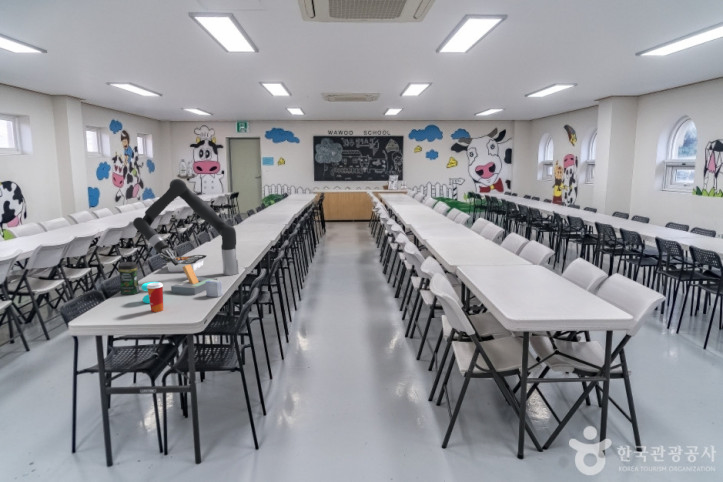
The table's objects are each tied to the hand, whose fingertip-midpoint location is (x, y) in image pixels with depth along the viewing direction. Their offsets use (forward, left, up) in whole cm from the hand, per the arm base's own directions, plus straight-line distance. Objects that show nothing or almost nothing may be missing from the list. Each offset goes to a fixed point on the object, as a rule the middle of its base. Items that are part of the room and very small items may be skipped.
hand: (177, 264), depth 273 cm
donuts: (+19, +19, -14) cm, 31 cm away
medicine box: (-11, +31, -14) cm, 36 cm away
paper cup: (+21, +38, -14) cm, 46 cm away
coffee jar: (+26, -6, -14) cm, 30 cm away
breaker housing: (-7, +9, -14) cm, 18 cm away
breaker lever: (-7, +9, -11) cm, 16 cm away
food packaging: (-18, -50, -15) cm, 55 cm away
